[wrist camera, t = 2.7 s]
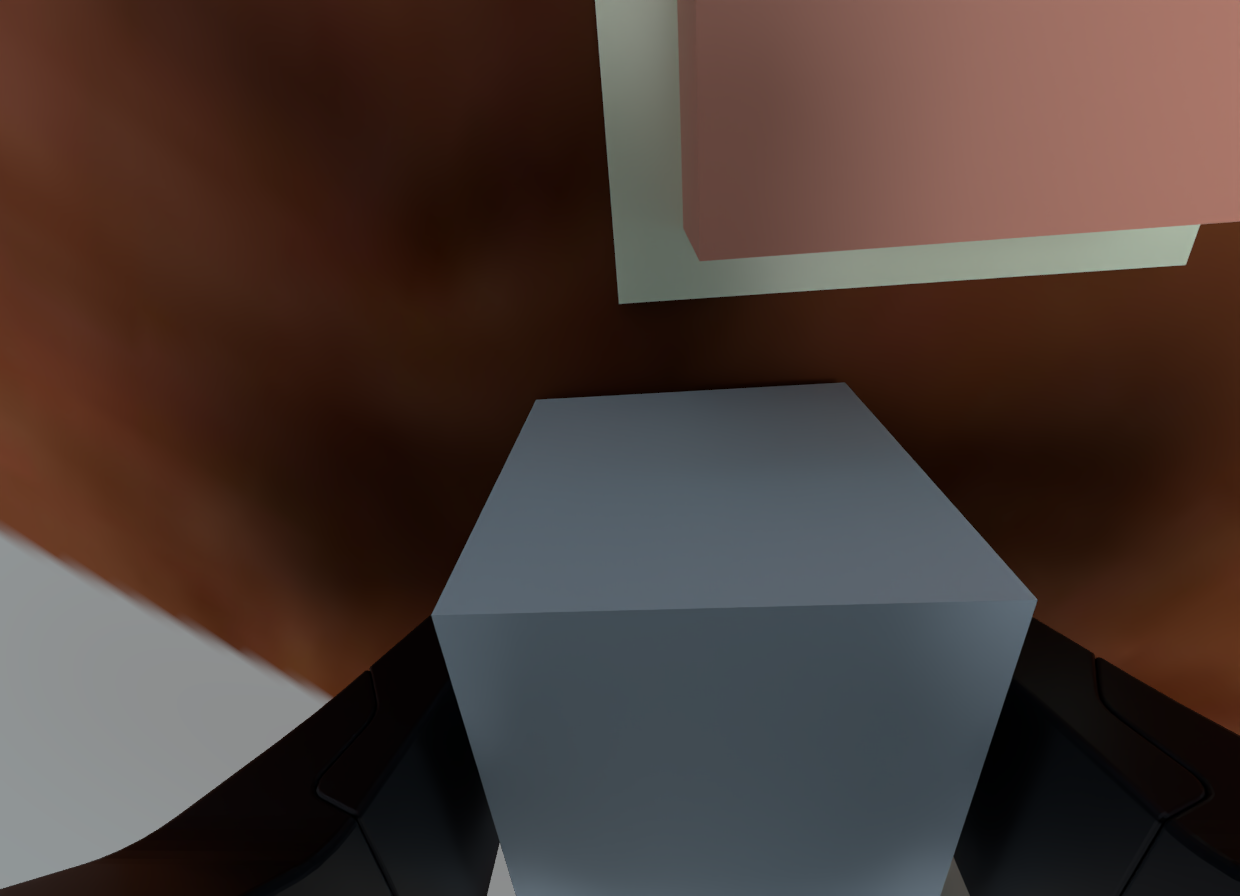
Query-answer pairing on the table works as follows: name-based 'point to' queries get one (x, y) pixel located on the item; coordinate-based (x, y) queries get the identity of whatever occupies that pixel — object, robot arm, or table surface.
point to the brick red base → (952, 120)
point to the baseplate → (670, 270)
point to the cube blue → (726, 649)
